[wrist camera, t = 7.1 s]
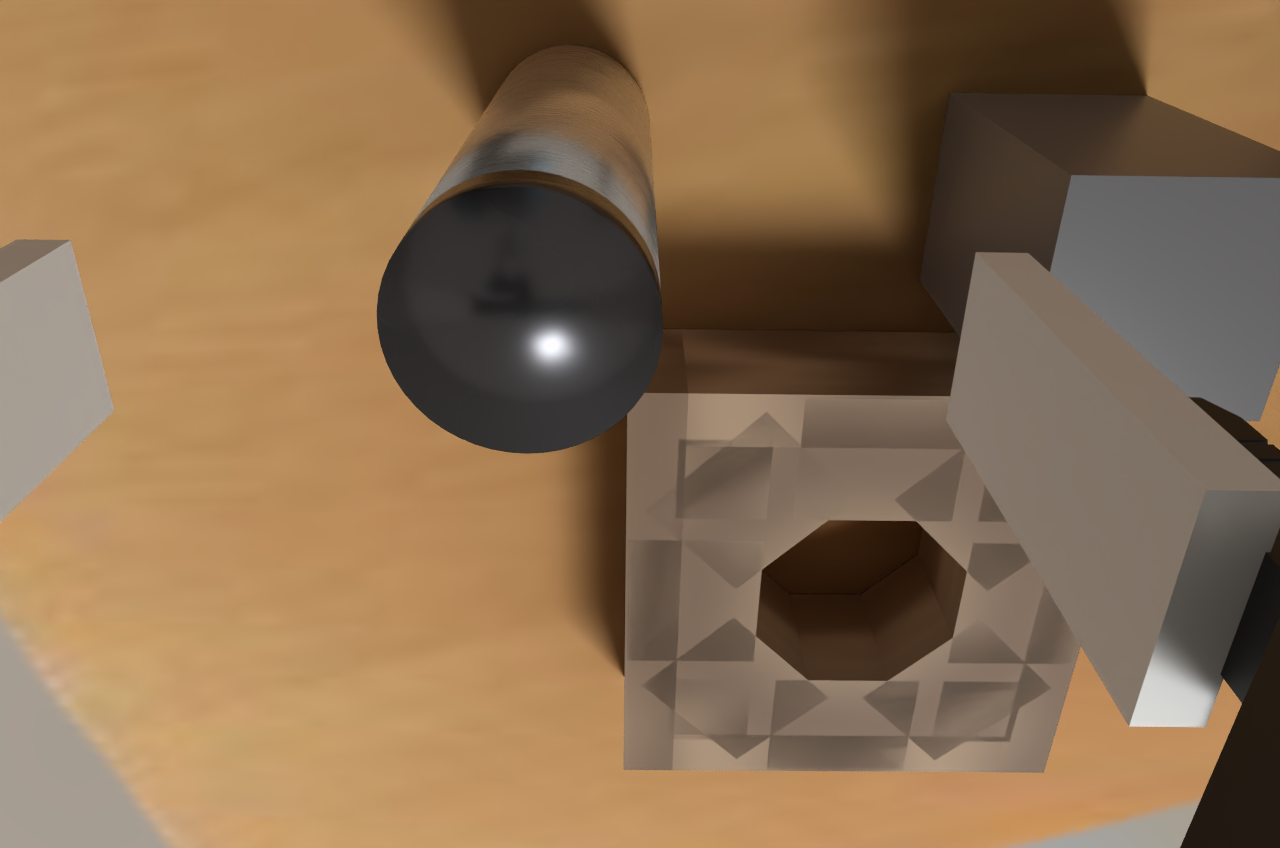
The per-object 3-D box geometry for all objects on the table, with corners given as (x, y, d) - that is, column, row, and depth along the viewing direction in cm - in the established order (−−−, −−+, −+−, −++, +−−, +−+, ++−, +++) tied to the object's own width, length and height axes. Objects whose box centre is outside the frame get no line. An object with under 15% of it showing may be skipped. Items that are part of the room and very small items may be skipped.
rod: (496, 204, 26) (392, 452, 15) (488, 43, 24) (361, 186, 13) (648, 206, 26) (659, 454, 15) (651, 45, 24) (667, 191, 13)
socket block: (624, 678, 34) (623, 769, 31) (628, 328, 28) (627, 392, 25) (1001, 681, 34) (1043, 772, 31) (1088, 334, 28) (1153, 398, 25)
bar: (919, 280, 28) (1017, 418, 20) (949, 92, 25) (1071, 175, 18) (1099, 282, 28) (1259, 421, 21) (1146, 95, 25) (1345, 178, 18)
